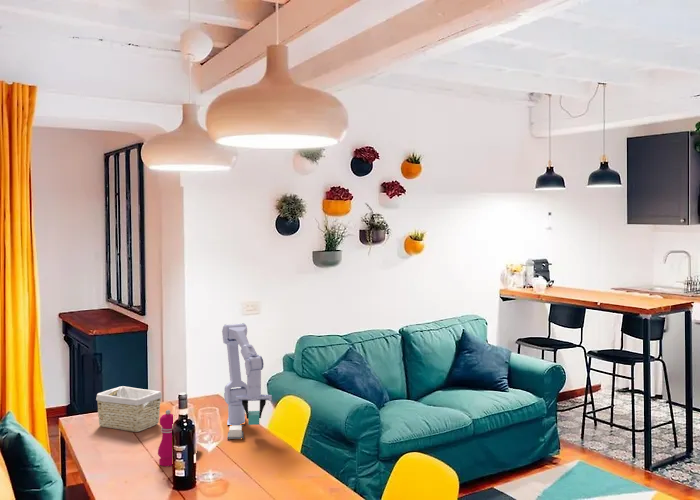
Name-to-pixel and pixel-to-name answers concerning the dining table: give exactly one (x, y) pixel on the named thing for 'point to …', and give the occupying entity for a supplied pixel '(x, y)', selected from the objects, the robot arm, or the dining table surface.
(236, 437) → the baseplate
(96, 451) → the dining table surface
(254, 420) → the teal brick
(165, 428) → the pepper mill
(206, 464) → the dining table surface
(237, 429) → the cream brick
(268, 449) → the dining table surface
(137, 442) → the dining table surface
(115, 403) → the storage basket
